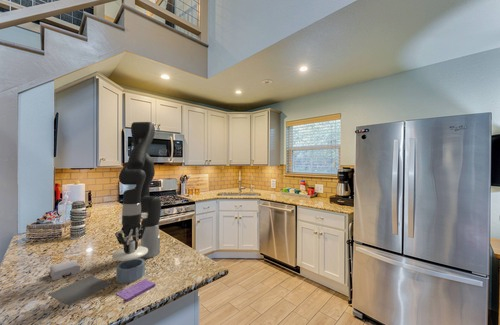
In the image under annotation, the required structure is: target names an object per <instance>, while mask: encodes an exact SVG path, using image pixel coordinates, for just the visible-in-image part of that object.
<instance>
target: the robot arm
mask: <svg viewBox="0 0 500 325" xmlns="http://www.w3.org/2000/svg"><path fill="white" fill-rule="evenodd" d="M155 131H156V130H155V125H154V124H153V123H152V122H151V121H138V122H137V121H135V122H134V121H133V122H132V123H131V126H130V132H131V138H132V144H133V148H132V149H131V151H130V154H129V157H128V160H127V162H126V163H125V165H124V166H123V168H122V169H121V170H120V172H119V175H118V181H119V182H120V184H122V185H124V186H125V185H126V186H127V185H130V186H131V185H133V186H134V185H135V187H134V188H131V189H126V190H124V192H123V196H122V198H123V200H122V201H123V202H122V209H121V225H122V227H121V230H120V231H118V232H117V231H116V232H115V234H114V235H115V237H116V239H117V242H118V244H119V245H122V246H123V249H124V252H125V253H129V242H130V240H135V250H137V248H138V246H139V240H140V246H142V247H146V248H148V253H147V254H146V255H144V256H142V257H140V259H150V258H154V257H156V256H158V255H159V254H160V252H161V236H160V235H159V234H160V231H159V229H160V219H161V211H162V201H161V199H160V197H157V196H151V195H150V186H151V183H152V182H153V179H154V177H155V172H156V171H155V162H154V160H153V158H152V157H151V156H150V155H149V153H148V151H149V148H150V147H151V144H152V142H153V140H154V137H155ZM142 213H145V214H146V213H147V217H146V218H144V219H142Z"/></svg>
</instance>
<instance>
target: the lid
mask: <svg viewBox="0 0 500 325" xmlns="http://www.w3.org/2000/svg"><path fill="white" fill-rule="evenodd" d="M147 253H148V248H146V247H142V246H141V245H140V246H139V245H138V248H137V250H135V240H133V239H130V242H129V253H125V252H124V248H121V249H118V250H117V251H114V252H113V253H112V256H111V257H112V258H111V259H112V260H115V261H118V262H123V261H128V260H133V259H137V258H140V259H141V257H142V256H144V255H146V254H147Z"/></svg>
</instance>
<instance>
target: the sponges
mask: <svg viewBox="0 0 500 325" xmlns="http://www.w3.org/2000/svg"><path fill="white" fill-rule="evenodd" d="M155 286H156V283H155V282H153V281H150V280H148V279H146V278H145V279H142V280H140V281H137V283H135V284H133V285H131V286H129V287H126V288H124V289H122V290H120V291H118V292H116V293H115V295H116V296H119V298H120V297H121V298H122V299H123V302H125V303H128V302H129V301H131V300H134V299H135V298H137V297H139V296H140V295H142V294H144V293H145V292H147V291H149V290H151V289H153V288H155Z"/></svg>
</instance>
